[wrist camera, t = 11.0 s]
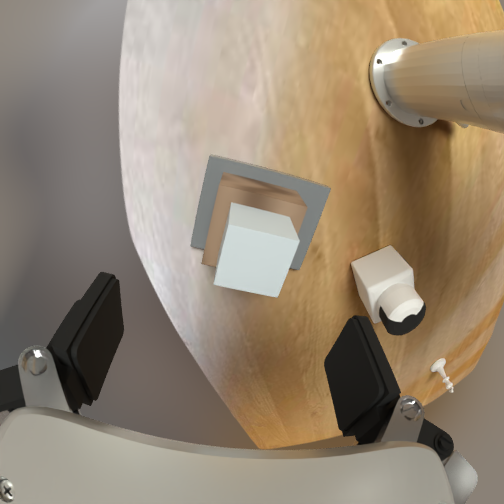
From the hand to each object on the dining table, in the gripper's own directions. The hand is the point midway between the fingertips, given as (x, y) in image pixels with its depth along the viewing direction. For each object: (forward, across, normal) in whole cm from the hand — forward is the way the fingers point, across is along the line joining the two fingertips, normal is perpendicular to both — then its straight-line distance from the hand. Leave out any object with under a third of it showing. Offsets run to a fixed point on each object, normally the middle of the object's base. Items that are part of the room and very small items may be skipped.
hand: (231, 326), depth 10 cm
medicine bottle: (+26, -23, +10) cm, 36 cm away
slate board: (+25, -3, +5) cm, 26 cm away
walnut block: (+24, -2, +4) cm, 24 cm away
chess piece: (+26, -59, +33) cm, 72 cm away
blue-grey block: (+18, -2, +4) cm, 19 cm away
